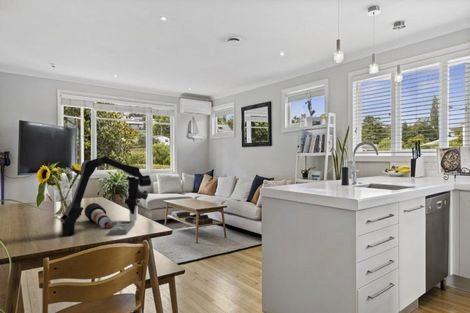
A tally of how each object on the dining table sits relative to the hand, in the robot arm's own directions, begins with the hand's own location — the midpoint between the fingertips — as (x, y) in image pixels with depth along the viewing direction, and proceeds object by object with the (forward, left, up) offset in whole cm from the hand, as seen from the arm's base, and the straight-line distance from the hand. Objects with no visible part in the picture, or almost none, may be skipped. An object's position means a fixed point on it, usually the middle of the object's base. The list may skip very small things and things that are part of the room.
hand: (133, 213), depth 181 cm
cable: (0, +19, -7) cm, 20 cm away
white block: (0, 0, -4) cm, 4 cm away
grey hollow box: (-18, +2, -6) cm, 19 cm away
